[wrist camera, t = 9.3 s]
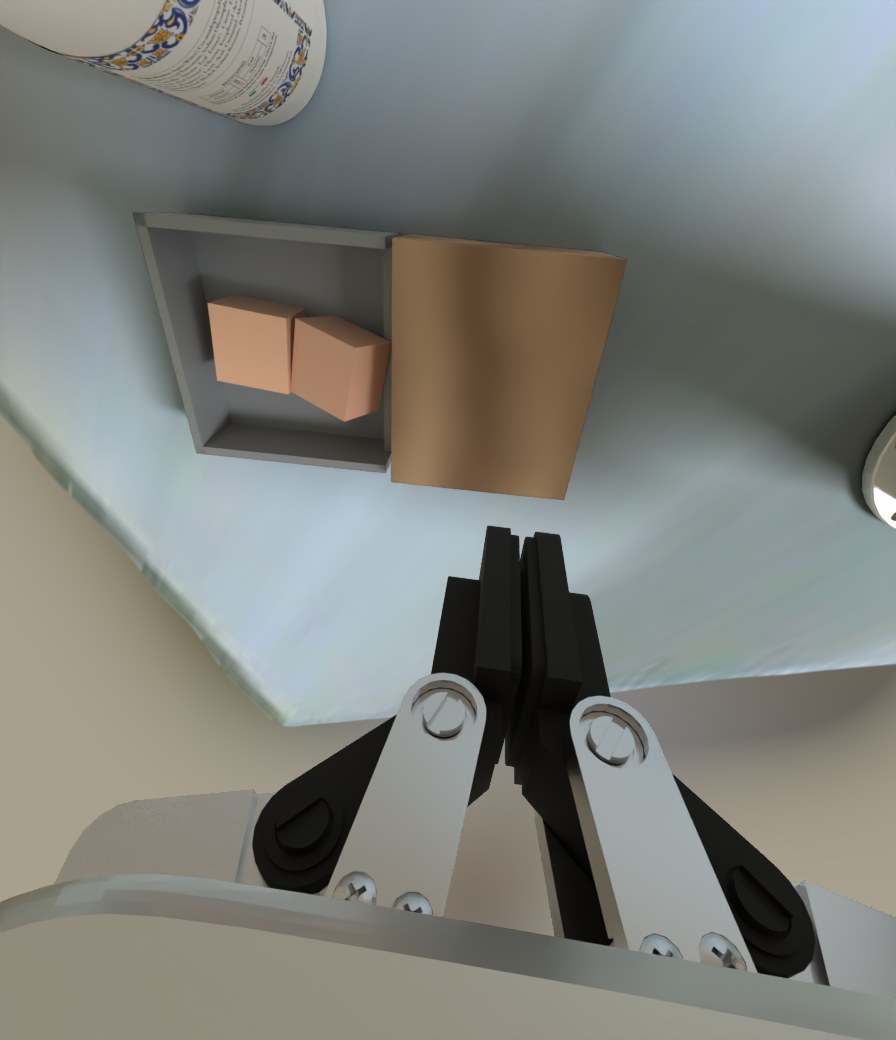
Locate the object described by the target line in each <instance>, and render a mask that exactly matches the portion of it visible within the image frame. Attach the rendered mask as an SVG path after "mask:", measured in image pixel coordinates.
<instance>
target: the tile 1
mask: <svg viewBox="0 0 896 1040" xmlns="http://www.w3.org/2000/svg"><path fill="white" fill-rule="evenodd" d="M391 343H392V342H390V341H388V340H386V339H384V338H382V337H380V336H378V335H376V334H373V333H371V332H369V331H367V330H365V329H363V328H361V327H359V326H357V325H355V324H353V323H350V322H348V321H346V320H344V319H342V318H340V317H338V316H322V317H307V318H295V331H294V346H293V362H292V377H291V392H292V393H294V394H296V395H298V396H299V397H301V398H303V399H305V400H307V401H308V402H310V403H312V404H314V405H315V406H317V407H319V408H321V409H323V410H324V411H326V412H328V413H330V414H331V415H333V416H335V417H337V418H339V419H340V420H342V421H344V422H345V421H348V420H351V419H354V418H357V417H360V416H363V415H366V414H369V413H372V412H374V411H377V410H379V406H380V401H381V395H382V390H383V385H384V380H385V374H386V369H387V364H388V359H389V353H390V348H391Z"/></svg>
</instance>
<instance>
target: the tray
mask: <svg viewBox="0 0 896 1040" xmlns="http://www.w3.org/2000/svg"><path fill="white" fill-rule="evenodd" d="M132 213H133V216H134V220H135V224H136V228H137V231H138V235H139V239H140V243H141V246H142V250H143V254H144V258H145V261H146V265H147V269H148V273H149V276H150V280H151V284H152V288H153V291H154V295H155V299H156V303H157V306H158V310H159V314H160V318H161V322H162V325H163V329H164V333H165V337H166V340H167V344H168V348H169V352H170V355H171V359H172V363H173V367H174V370H175V374H176V378H177V382H178V385H179V389H180V393H181V397H182V400H183V404H184V408H185V412H186V415H187V419H188V423H189V427H190V430H191V434H192V438H193V442H194V446H195V449H196V453H197V454H207V455H217V456H226V457H236V458H245V459H255V460H265V461H274V462H284V463H293V464H303V465H313V466H322V467H332V468H341V469H351V470H361V471H370V472H380V473H386V472H387V469H388V467H389V464H390V462H391V411H392V343H391V348H390V353H389V359H388V364H387V369H386V374H385V380H384V385H383V390H382V395H381V401H380V406H379V410H377V411H374V412H372V413H369V414H366V415H363V416H360V417H357V418H354V419H351V420H348V421H345V422H344V421H342V420H340V419H339V418H337V417H335V416H333V415H331V414H330V413H328V412H326V411H324V410H323V409H321V408H319V407H317V406H315V405H314V404H312V403H310V402H308V401H307V400H305V399H303V398H301V397H299V396H298V395H296V394H294V393H292V392H291V393H290V394H284V393H279V392H273V391H268V390H263V389H258V388H253V387H248V386H243V385H237V384H232V383H227V382H222V381H217V376H216V367H215V359H214V351H213V343H212V335H211V326H210V318H209V310H208V303H209V302H212V301H215V300H219V299H222V298H225V297H228V296H232V295H235V294H236V295H241V296H246V297H251V298H256V299H261V300H266V301H271V302H276V303H281V304H286V305H291V306H296V307H301V308H306V318H307V317H322V316H338V317H340V318H342V319H344V320H346V321H348V322H350V323H353V324H355V325H357V326H359V327H361V328H363V329H365V330H367V331H369V332H371V333H373V334H376V335H378V336H380V337H382V338H384V339H386V340H388V341H390V342H392V238H394V237H399V236H400V233H392V232H382V231H371V230H360V229H349V228H339V227H328V226H317V225H306V224H296V223H285V222H274V221H263V220H253V219H242V218H231V217H220V216H210V215H199V214H188V213H136V212H132Z"/></svg>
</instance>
